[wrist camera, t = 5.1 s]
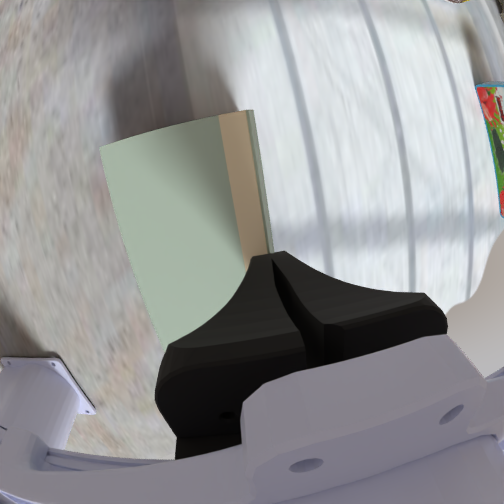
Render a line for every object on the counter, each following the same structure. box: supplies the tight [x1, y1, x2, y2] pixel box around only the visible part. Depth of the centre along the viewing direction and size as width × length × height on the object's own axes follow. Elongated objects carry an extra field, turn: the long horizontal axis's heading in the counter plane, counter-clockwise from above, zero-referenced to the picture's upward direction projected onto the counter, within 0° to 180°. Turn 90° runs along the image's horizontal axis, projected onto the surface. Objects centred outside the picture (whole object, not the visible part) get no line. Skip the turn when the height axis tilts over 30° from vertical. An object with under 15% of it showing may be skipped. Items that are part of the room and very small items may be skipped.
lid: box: [99, 110, 274, 352], centre depth 13 cm, size 7×12×1 cm, turn 9°
